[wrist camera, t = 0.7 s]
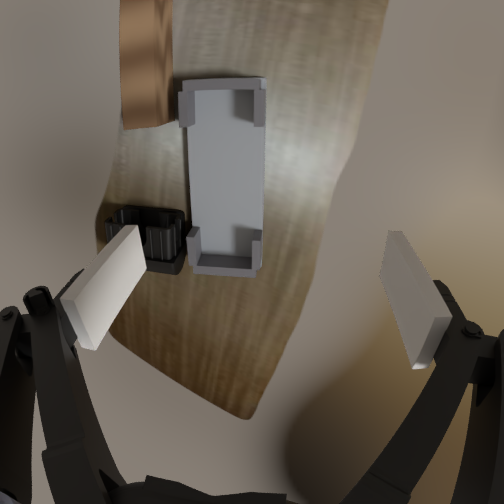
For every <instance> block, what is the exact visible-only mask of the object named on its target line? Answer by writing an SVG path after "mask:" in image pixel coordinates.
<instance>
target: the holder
mask: <svg viewBox="0 0 504 504" xmlns="http://www.w3.org/2000/svg"><path fill="white" fill-rule="evenodd" d="M178 107H179V128H181V127H187V135H188V159H189V179H190V196H191V211H192V225H193V227H192V229H191V230H190V232H189V233H188V235H187V237H186V240H187V250H188V260H189V265H192V266H193V273H194V274H207V275H221V276H236V277H251V278H256V272H257V270H260V267H261V266H262V243H263V209H264V171H265V128H266V78H207V79H190V80H186V81H183V91H182V92H178Z"/></svg>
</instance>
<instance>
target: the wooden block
mask: <svg viewBox="0 0 504 504" xmlns="http://www.w3.org/2000/svg"><path fill="white" fill-rule="evenodd" d="M119 28H120V29H119V46H120V80H121V81H120V82H121V100H122V114H123V127H124V130H128V129H138V128H148V127H157V126H160V125H163V124H166V123H169V122H172V121H175V113H174V90H173V56H172V0H120V23H119Z"/></svg>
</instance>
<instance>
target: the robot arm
mask: <svg viewBox="0 0 504 504" xmlns="http://www.w3.org/2000/svg"><path fill="white" fill-rule="evenodd" d="M146 269H147V267H146V263H145V258H144V253H143V249H142V244H141V239H140V234H139V229H138V225H125V226H124V227H123V228H122V229H121V230H120V231H119V233H118V234H117V235H116V236H115V237H114V238H113V239H112V240H111V241H110V242H109V243H108V244H107V245H106V246H105V247H104V248H103V250H102V251H101V252H100V253H99V254H98V255H97V256H96V257H95V258H94V260H93V261H92V262H91V263H90V264H89V265H88V266H87V267H86V268H85V269H82V270H81V271H79V272H78V273H76V274H75V275H74V276H73V277H72V278H71V279H70V282H68V283H67V284H66V285H65V287H63V289H62V290H61V291H60V292H59V293H58V295H57V296H56V297H55V298H54V299H52V296H51V294H50V292H49V289H48V287H46V286H38V287H35V288H33V289H31V290H30V291H28V292H27V293H26V294H25V295H24V297H23V302H24V304H25V306H26V308H27V310H28V312H29V314H23V315H21V314H20V312H19V310H18V308H17V307H15V306H10V307H6V308H5V309H3V310H2V311H1V312H0V504H31V500H32V476H31V475H32V474H31V473H32V471H31V457H32V454H31V452H32V428H33V414H34V403H35V393H36V392H37V398H38V405H39V411H40V416H41V422H42V427H43V432H44V436H45V440H46V445H47V449H46V450H44V451H42V461H43V464H44V468H45V472H46V476H47V479H48V483H49V486H50V490H51V493H52V496H53V499H54V502H55V504H298V503H295V502H292V501H288V500H286V495H287V494H277V493H257V492H247V493H239V494H230V495H220V496H211V495H208V494H206V493H203V492H201V491H198V490H196V489H193V488H191V487H189V486H186V485H184V484H182V483H179V482H175V481H171V480H165V479H162V478H157V477H153V476H149V475H147V476H146V479H145V482H135V483H130V484H127V483H126V481H125V480H124V479H123V477H122V476H121V474H120V473H119V471H118V469H117V467H116V464H115V462H114V460H113V457H112V455H111V453H110V451H109V448H108V445H107V443H106V441H105V438H104V435H103V433H102V430H101V428H100V425H99V422H98V419H97V417H96V414H95V411H94V408H93V405H92V402H91V399H90V396H89V393H88V389H87V386H86V383H85V380H84V376H83V373H82V369H81V365H80V362H79V358H78V354H77V350H76V348H75V346H74V342H75V341H76V339H77V338H78V340H79V342H80V344H81V346H82V348H86V349H91V350H96V349H97V347H98V345H99V344H100V342H101V340H102V339H103V337H104V335H105V334H106V332H107V330H108V329H109V327H110V325H111V324H112V322H113V320H114V319H115V317H116V316H117V314H118V312H119V311H120V309H121V308H122V306H123V304H124V303H125V301H126V300H127V298H128V296H129V295H130V293H131V292H132V290H133V289H134V287H135V285H136V284H137V282H138V281H139V279H140V278H141V276H142V275H143V273H144V272H145V270H146ZM380 279H381V281H382V284H383V286H384V289H385V292H386V294H387V297H388V300H389V302H390V305H391V308H392V310H393V313H394V316H395V319H396V322H397V324H398V327H399V330H400V333H401V336H402V339H403V342H404V345H405V348H406V351H407V354H408V358H409V360H410V364H411V367H412V369H420V368H428V367H429V365H430V364H431V362H432V360H433V358H434V360H435V363H436V367H435V369H434V371H433V373H432V374H431V376H430V378H429V380H428V381H427V383H426V385H425V387H424V389H423V390H422V392H421V394H420V396H419V397H418V399H417V400H416V402H415V404H414V405H413V407H412V408H411V410H410V412H409V413H408V415H407V416H406V418H405V419H404V421H403V422H402V424H401V425H400V427H399V428H398V430H397V431H396V433H395V435H394V436H393V437H392V439H391V440H390V441H389V443H388V444H387V446H386V447H385V448H384V450H383V451H382V453H381V454H380V455H379V456H378V458H377V459H376V460H375V462H374V463H373V464H372V465H371V467H370V468H369V469H368V470H367V472H366V473H365V474H364V475H363V477H362V478H361V479H360V480H359V481H358V483H357V484H356V485H355V486H354V487H353V489H352V490H351V491H350V492H349V493H348V494H347V495H346V496H345V498H344V499H343V500H342V501H341V502H340V503H339V504H407V503H408V502H409V500H410V498H411V495H410V494H411V492H412V490H413V488H414V487H415V485H416V484H417V482H418V481H419V479H420V477H421V476H422V474H423V473H424V471H425V469H426V468H427V466H428V464H429V463H430V461H431V459H432V457H433V456H434V454H435V452H436V450H437V448H438V447H439V445H440V443H441V441H442V439H443V437H444V435H445V433H446V431H447V429H448V427H449V425H450V423H451V421H452V419H453V417H454V415H455V412H456V410H457V408H458V406H459V404H460V402H461V399H462V397H463V394H464V392H465V389H466V387H467V385H468V383H472V384H473V391H472V401H471V409H470V417H469V424H468V430H467V436H466V441H465V447H464V452H463V457H462V461H461V466H460V470H459V474H458V478H457V482H456V486H455V489H454V493H453V497H452V500H451V503H450V504H504V329H503V330H502V331H501V332H500V334H499V336H498V337H493V336H488V335H484V332H483V330H482V329H481V328H480V326H479V325H477V324H476V323H474V322H471V321H468V320H466V318H465V316H464V314H463V312H462V311H461V309H460V307H459V305H458V304H457V302H455V299H454V297H453V296H452V294H451V292H450V290H449V289H448V287H447V286H446V285H445V284H444V283H442V282H441V281H440V280H432V279H431V277H430V275H429V274H428V272H427V270H426V269H425V267H424V266H423V264H422V262H421V261H420V259H419V257H418V256H417V254H416V253H415V251H414V249H413V248H412V246H411V245H410V243H409V242H408V240H407V239H406V237H405V235H404V234H403V232H402V231H388V236H387V241H386V247H385V252H384V257H383V261H382V266H381V271H380Z"/></svg>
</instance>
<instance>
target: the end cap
mask: <svg viewBox="0 0 504 504" xmlns="http://www.w3.org/2000/svg"><path fill="white" fill-rule="evenodd" d="M114 218H115V222H113V221H112V217H109V218H108V219H107V220H106V221H105V228H106V236H107V243H109V242H110V241H111V240H112V239H113V238H114V237H115V236H116V235H117V234H118V233H119V231H120V230H121V229H122V228H123V227H124V226H125V225H138V229H139V234H140V239H141V244H142V249H143V253H144V258H145V263H146V267H147V269H146V270H145V271H152V272H159V273H165V274H172V275H177V274H179V273H180V271H181V270H182V267H183V264H184V261H185V256H186V248H187V240H185V214H184V212H183V211H181V210H173V209H163V208H153V207H142V206H131V205H126V206H124V207H123V208H121V209H118V210H117V211H116V212H115V213H114Z"/></svg>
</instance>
